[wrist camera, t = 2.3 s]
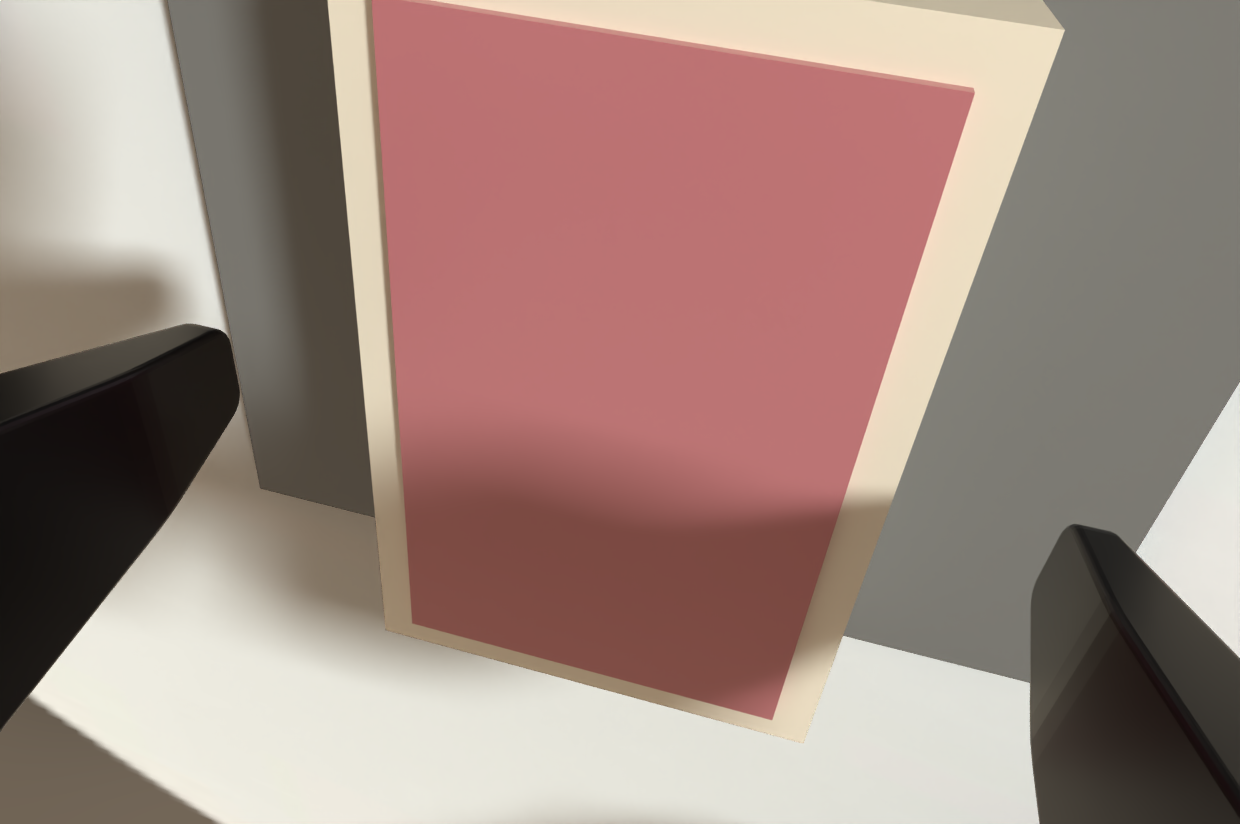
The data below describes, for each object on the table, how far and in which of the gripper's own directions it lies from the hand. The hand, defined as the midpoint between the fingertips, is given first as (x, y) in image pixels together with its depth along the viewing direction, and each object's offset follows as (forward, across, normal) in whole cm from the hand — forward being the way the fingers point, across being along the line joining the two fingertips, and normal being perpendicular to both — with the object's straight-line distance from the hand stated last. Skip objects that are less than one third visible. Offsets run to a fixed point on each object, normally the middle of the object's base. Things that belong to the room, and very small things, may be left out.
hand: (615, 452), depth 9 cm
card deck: (+3, 0, 0) cm, 3 cm away
